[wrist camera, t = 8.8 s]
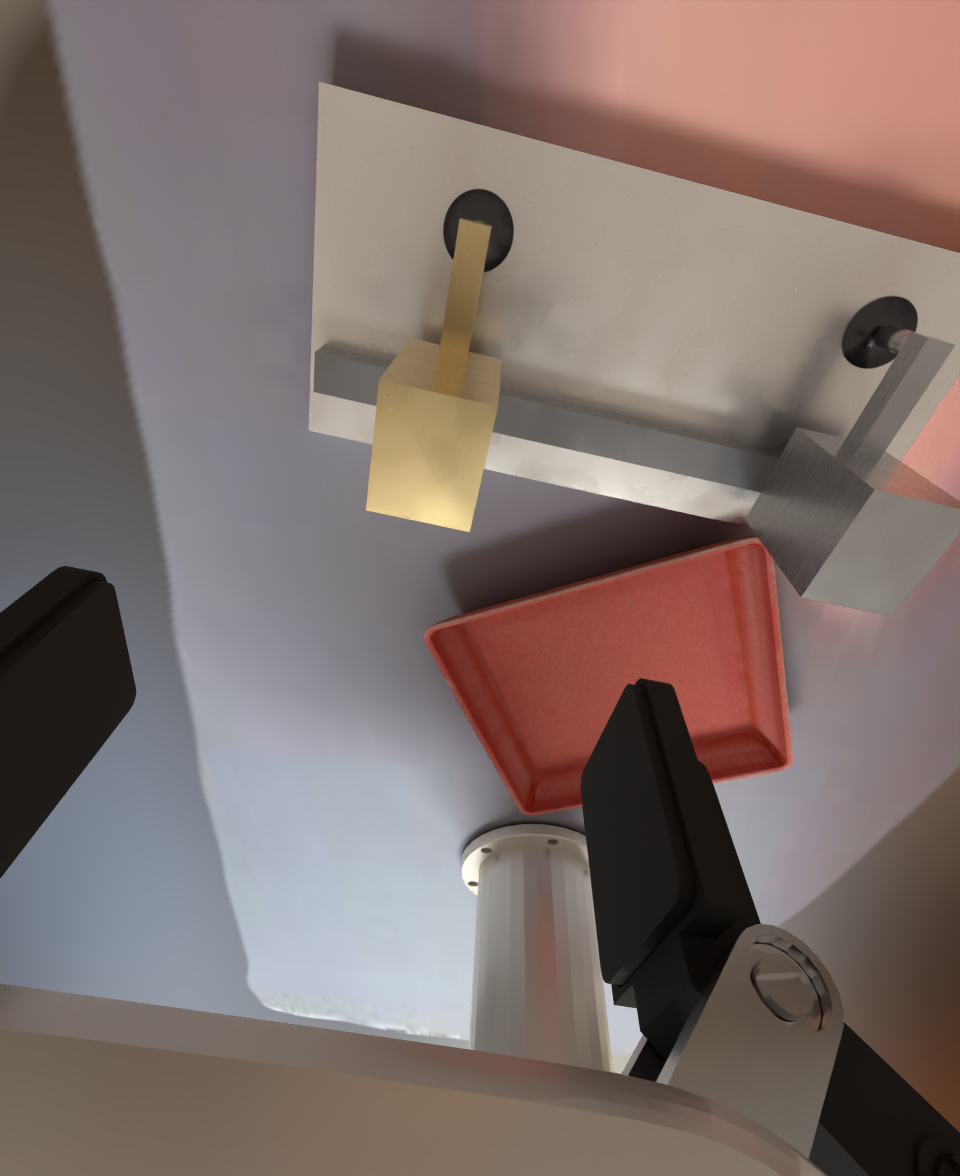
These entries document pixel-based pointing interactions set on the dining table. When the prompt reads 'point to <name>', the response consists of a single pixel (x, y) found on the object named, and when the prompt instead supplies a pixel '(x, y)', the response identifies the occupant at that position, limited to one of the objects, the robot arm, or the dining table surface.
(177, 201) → the dining table surface
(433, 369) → the tan stemmed block
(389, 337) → the hole plate
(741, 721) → the plant saucer
